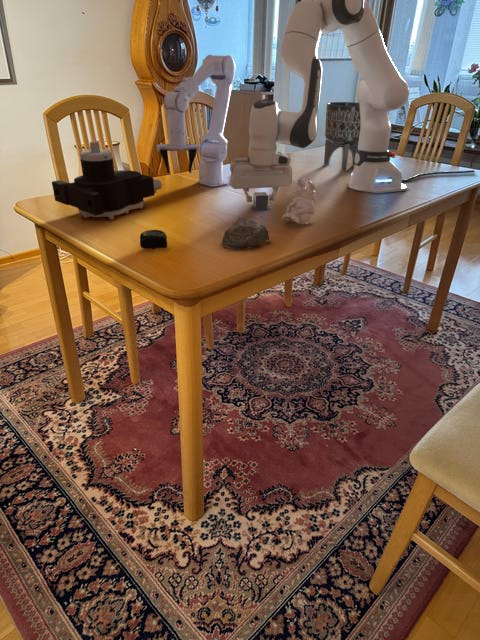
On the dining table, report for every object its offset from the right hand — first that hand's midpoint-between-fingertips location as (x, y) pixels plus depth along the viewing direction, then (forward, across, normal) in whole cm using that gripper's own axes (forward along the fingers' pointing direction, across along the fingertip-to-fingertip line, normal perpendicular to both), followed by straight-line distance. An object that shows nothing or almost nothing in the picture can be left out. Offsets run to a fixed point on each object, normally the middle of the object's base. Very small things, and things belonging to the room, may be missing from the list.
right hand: (260, 201), depth 150 cm
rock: (+2, -13, -32) cm, 35 cm away
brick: (+2, 0, 0) cm, 2 cm away
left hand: (-5, -24, +23) cm, 33 cm away
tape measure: (+2, -37, -30) cm, 48 cm away
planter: (+2, +56, +56) cm, 80 cm away
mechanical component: (+2, -46, +6) cm, 46 cm away
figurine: (+2, +7, -17) cm, 19 cm away
